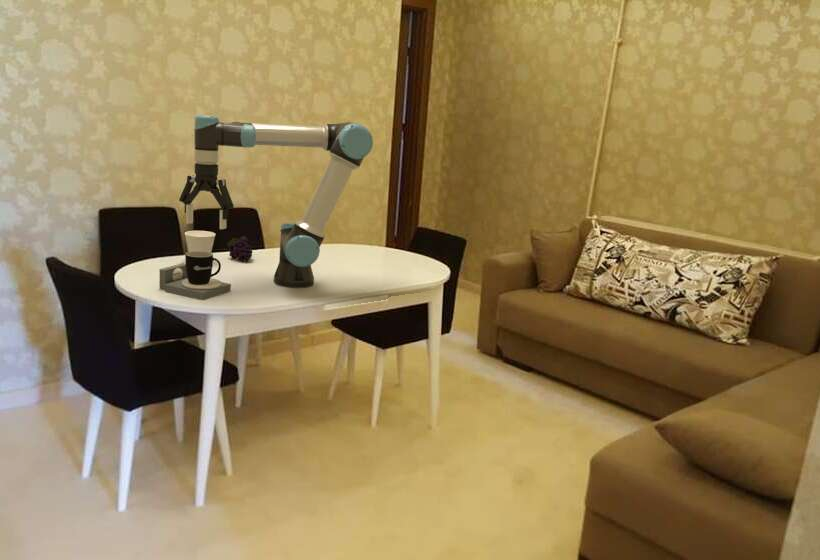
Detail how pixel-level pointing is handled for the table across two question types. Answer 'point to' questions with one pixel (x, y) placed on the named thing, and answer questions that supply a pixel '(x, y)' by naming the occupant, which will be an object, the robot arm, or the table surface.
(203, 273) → the mug
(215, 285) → the scale
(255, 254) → the table surface
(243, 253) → the fruit
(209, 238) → the cup
